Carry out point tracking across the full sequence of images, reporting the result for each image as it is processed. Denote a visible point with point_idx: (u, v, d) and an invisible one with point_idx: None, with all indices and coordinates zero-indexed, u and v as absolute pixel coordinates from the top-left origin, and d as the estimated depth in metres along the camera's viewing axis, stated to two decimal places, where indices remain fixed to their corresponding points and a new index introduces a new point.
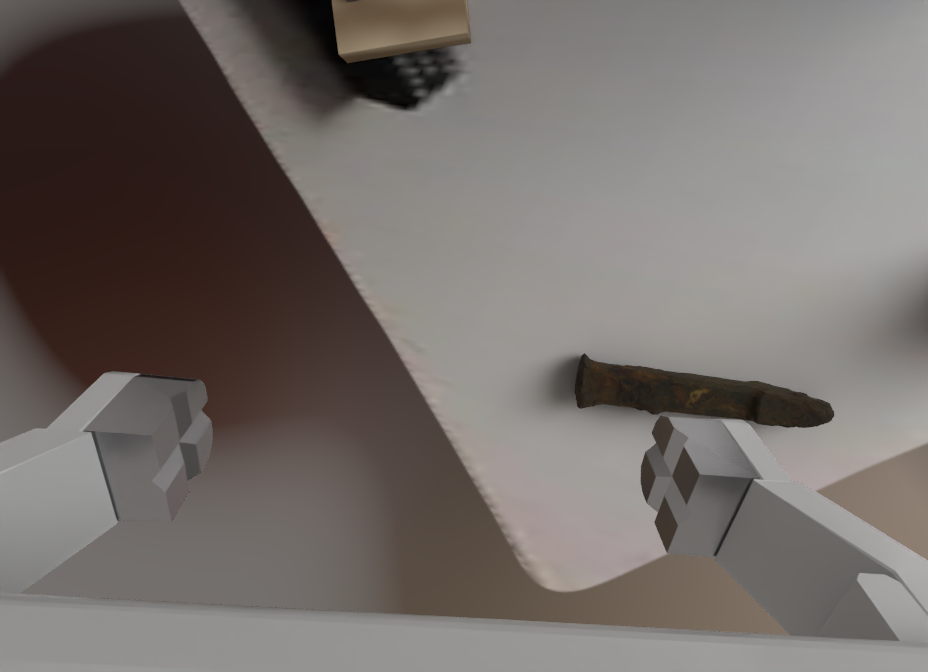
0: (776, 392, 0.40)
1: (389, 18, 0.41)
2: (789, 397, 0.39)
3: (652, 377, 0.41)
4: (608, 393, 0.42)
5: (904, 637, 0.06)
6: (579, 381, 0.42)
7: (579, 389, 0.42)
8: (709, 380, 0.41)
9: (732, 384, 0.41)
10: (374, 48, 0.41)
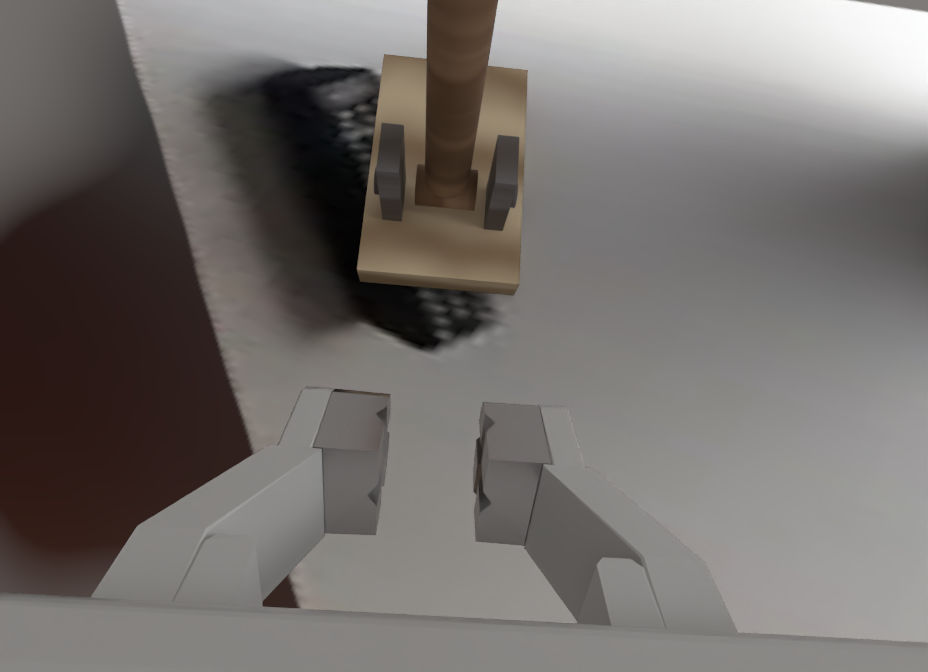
0: None
1: (428, 248, 0.34)
2: None
3: None
4: None
5: (619, 622, 0.06)
6: None
7: None
8: None
9: None
10: (403, 273, 0.34)
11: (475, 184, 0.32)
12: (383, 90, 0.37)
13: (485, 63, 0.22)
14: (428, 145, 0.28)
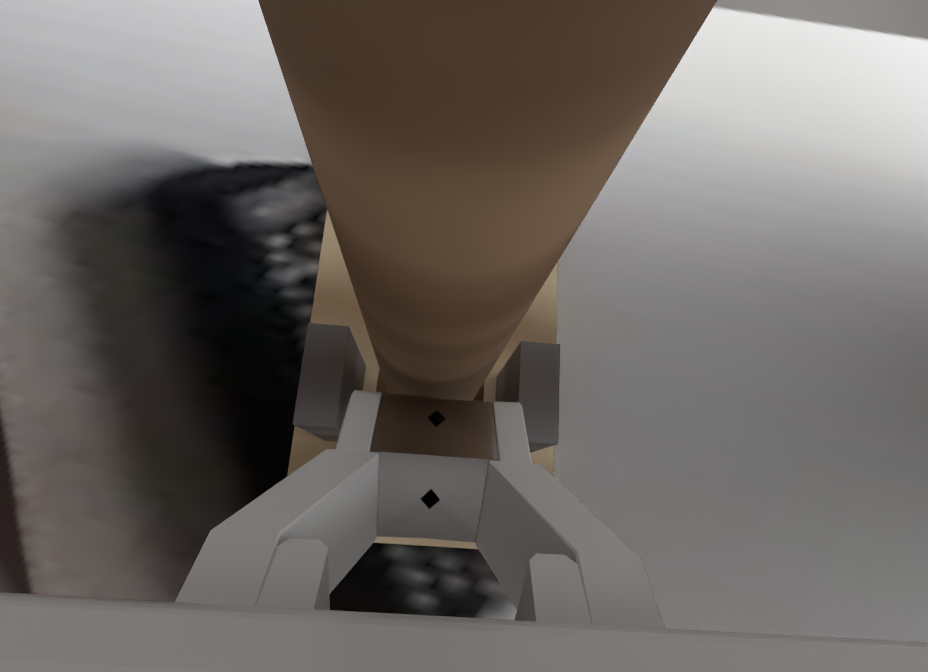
0: None
1: None
2: None
3: None
4: None
5: (546, 618, 0.06)
6: None
7: None
8: None
9: None
10: None
11: None
12: None
13: None
14: None
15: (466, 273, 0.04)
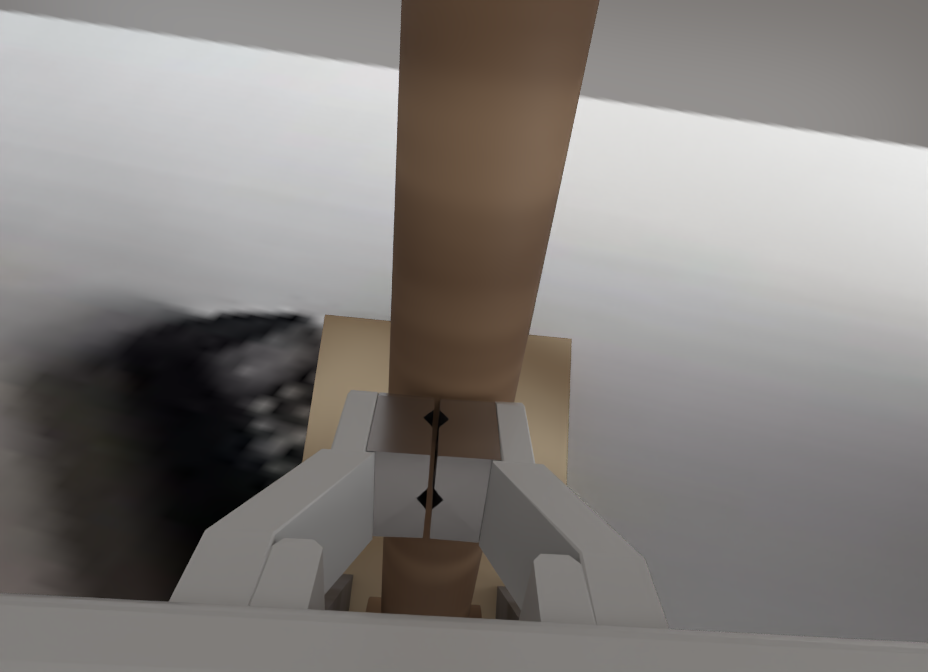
0: None
1: None
2: None
3: None
4: None
5: (550, 618, 0.06)
6: None
7: None
8: None
9: None
10: None
11: None
12: (320, 387, 0.21)
13: None
14: (387, 570, 0.14)
15: (489, 201, 0.08)
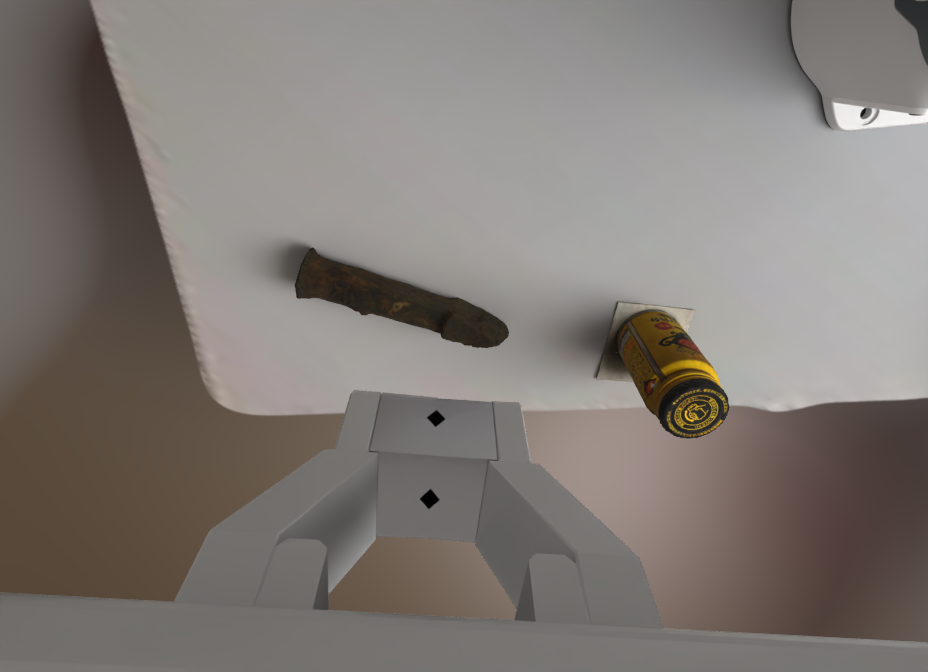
0: (461, 316, 0.46)
1: None
2: (470, 322, 0.46)
3: (364, 283, 0.46)
4: (323, 291, 0.46)
5: (545, 618, 0.06)
6: None
7: (295, 283, 0.45)
8: (413, 295, 0.47)
9: (431, 302, 0.47)
10: None
11: None
12: None
13: None
14: None
15: None
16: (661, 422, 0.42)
